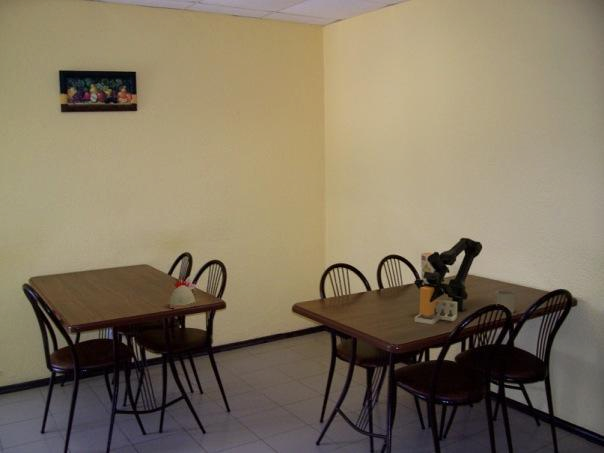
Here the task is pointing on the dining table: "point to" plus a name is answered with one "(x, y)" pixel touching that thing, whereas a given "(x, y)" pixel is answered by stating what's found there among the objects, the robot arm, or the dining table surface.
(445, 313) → the breaker bank
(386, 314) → the dining table surface
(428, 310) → the cap
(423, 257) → the cracker box
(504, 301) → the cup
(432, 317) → the frame
